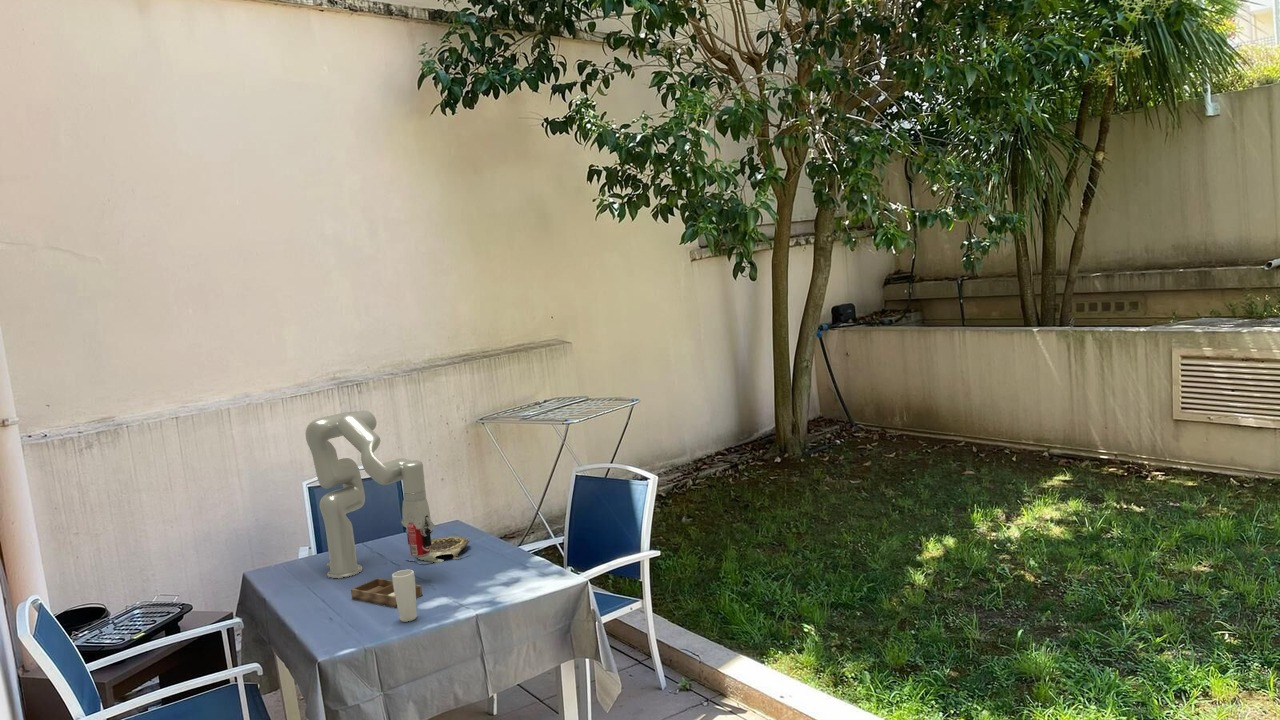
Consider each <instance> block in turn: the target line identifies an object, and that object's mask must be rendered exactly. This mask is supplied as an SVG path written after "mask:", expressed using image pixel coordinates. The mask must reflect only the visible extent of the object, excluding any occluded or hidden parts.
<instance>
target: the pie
mask: <svg viewBox="0 0 1280 720" xmlns="http://www.w3.org/2000/svg"><path fill="white" fill-rule="evenodd" d="M469 543H470V539H469V538H467V537H463V536H444V537H439V538H431V545H430V546H431V552H430V554H429V555H428V556H425V557H421V558H419V559H421V560H420V561H422V560H424V561H423V562H428V563H423V565H431V564H433V562H434V563H436V564H438V563H437V562H439V563H443V562H442V561H444V560H445V559H442V558H436V557H438V556H442V555H443V556H444V555H453V556H452V560H455V559H457V560H458V559H459V560H461V558H462V557H458V556H459V555H460V554H461V552H460V551H461V550H464V549H465V548H466V546H468V544H469ZM458 554H459V555H458ZM457 555H458V556H457ZM455 556H457V557H455ZM419 559H418V560H419ZM410 561H411V562H412V561H413V560H409V562H410ZM444 562H445V561H444ZM418 564H420V565H421V562H418Z"/></svg>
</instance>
